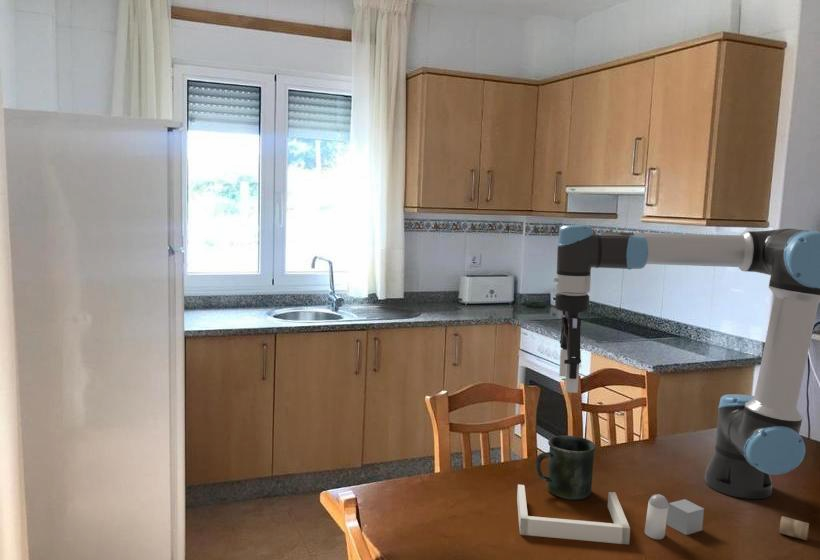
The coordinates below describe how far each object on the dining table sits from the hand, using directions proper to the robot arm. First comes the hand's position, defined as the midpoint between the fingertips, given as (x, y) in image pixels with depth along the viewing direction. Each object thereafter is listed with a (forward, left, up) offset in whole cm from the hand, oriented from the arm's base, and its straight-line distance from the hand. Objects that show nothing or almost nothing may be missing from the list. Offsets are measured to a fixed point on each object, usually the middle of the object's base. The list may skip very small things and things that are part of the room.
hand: (568, 383), depth 158 cm
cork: (-46, +10, -25) cm, 53 cm away
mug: (-1, -2, -27) cm, 27 cm away
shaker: (-18, +16, -27) cm, 36 cm away
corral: (-1, +13, -27) cm, 30 cm away
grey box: (-25, +11, -27) cm, 39 cm away
